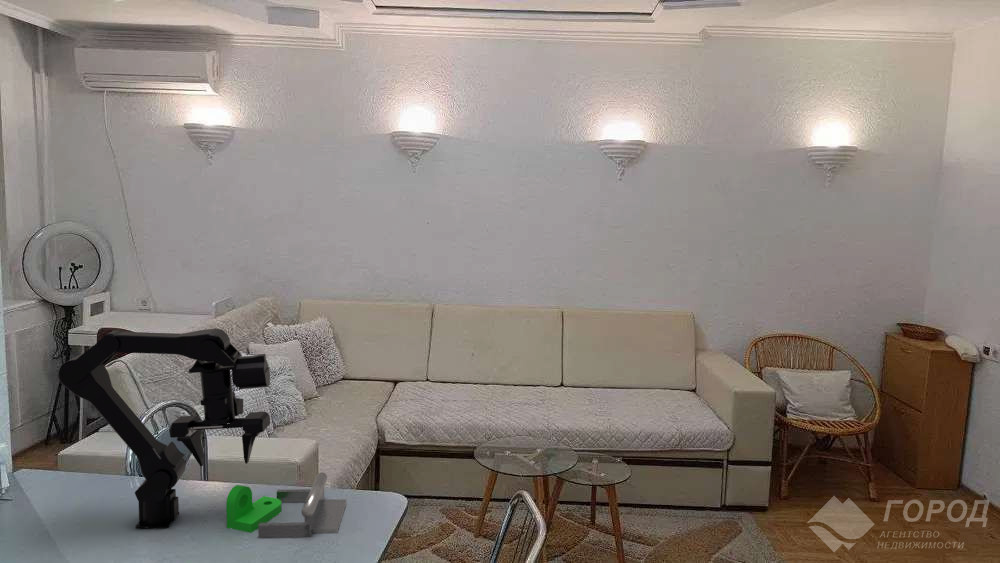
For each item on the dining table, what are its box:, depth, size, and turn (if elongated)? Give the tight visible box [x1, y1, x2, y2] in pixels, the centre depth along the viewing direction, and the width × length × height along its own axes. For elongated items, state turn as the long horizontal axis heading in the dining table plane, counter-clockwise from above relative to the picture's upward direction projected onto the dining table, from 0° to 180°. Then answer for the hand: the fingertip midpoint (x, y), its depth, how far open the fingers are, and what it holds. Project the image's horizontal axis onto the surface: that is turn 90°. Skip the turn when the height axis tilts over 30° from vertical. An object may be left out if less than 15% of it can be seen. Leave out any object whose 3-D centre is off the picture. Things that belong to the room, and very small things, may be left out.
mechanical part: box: [225, 484, 282, 534], centre depth 146 cm, size 12×6×8 cm, turn 162°
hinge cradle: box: [257, 472, 347, 539], centre depth 147 cm, size 15×17×6 cm
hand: (224, 464), depth 144 cm, fingers open, 9 cm apart
